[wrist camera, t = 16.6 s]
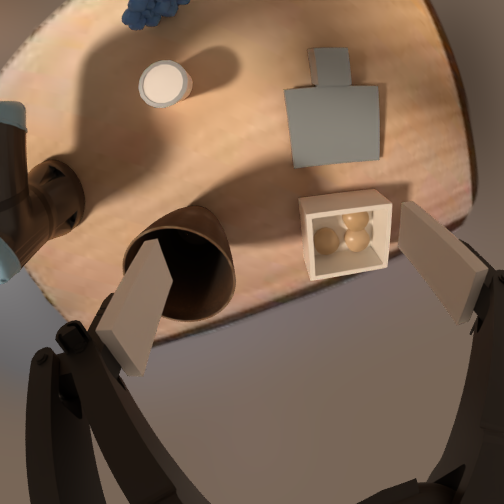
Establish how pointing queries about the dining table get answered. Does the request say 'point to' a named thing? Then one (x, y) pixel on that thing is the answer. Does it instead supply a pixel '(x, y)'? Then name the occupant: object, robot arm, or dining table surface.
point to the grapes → (149, 12)
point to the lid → (332, 114)
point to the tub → (345, 232)
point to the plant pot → (191, 263)
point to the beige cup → (164, 84)
